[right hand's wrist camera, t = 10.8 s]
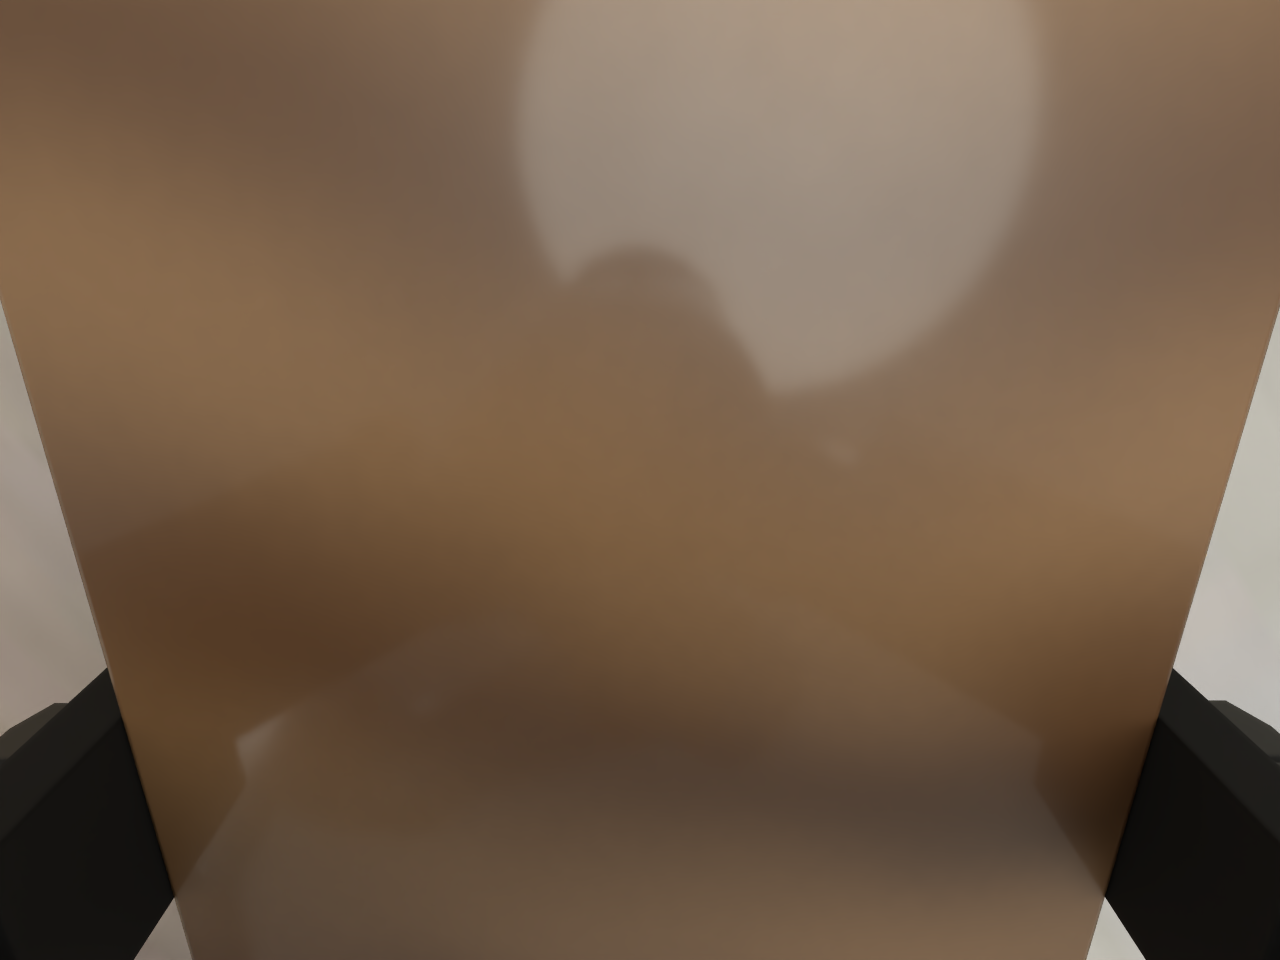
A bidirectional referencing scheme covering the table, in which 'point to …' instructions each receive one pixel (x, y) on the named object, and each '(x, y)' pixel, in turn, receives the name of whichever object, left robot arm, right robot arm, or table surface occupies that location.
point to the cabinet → (640, 449)
